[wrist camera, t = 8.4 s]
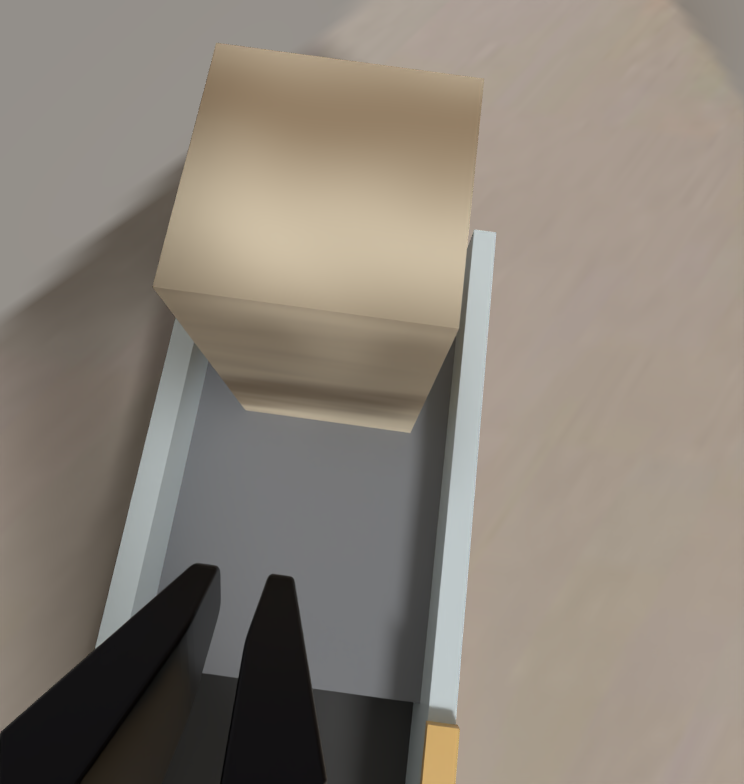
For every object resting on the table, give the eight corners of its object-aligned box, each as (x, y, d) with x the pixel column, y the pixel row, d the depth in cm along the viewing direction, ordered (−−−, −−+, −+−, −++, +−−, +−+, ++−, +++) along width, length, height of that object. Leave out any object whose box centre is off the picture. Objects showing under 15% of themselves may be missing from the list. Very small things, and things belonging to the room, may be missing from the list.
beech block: (410, 433, 21) (458, 328, 11) (245, 410, 21) (152, 286, 11) (428, 282, 22) (484, 78, 13) (275, 261, 22) (216, 43, 13)
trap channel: (412, 970, 18) (429, 1097, 14) (76, 923, 18) (-8, 1035, 14) (475, 282, 25) (500, 226, 20) (227, 249, 25) (201, 186, 21)
